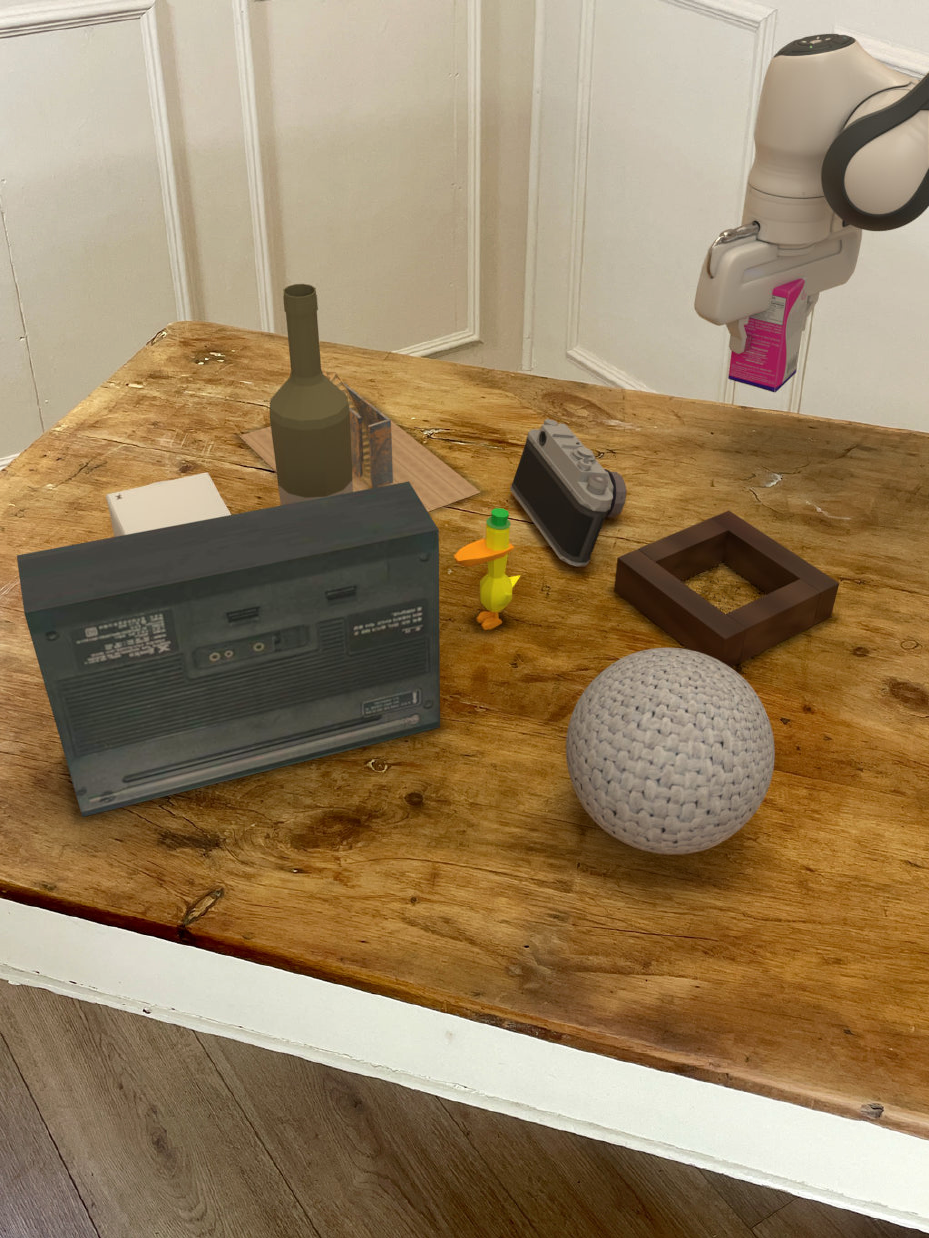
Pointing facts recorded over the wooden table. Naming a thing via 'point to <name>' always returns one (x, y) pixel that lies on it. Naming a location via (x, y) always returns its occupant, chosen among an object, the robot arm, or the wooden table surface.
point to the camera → (566, 491)
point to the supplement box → (773, 340)
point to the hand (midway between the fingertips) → (767, 340)
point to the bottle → (309, 413)
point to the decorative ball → (670, 751)
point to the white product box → (165, 504)
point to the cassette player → (237, 642)
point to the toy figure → (492, 567)
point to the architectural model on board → (383, 455)
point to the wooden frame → (728, 539)
